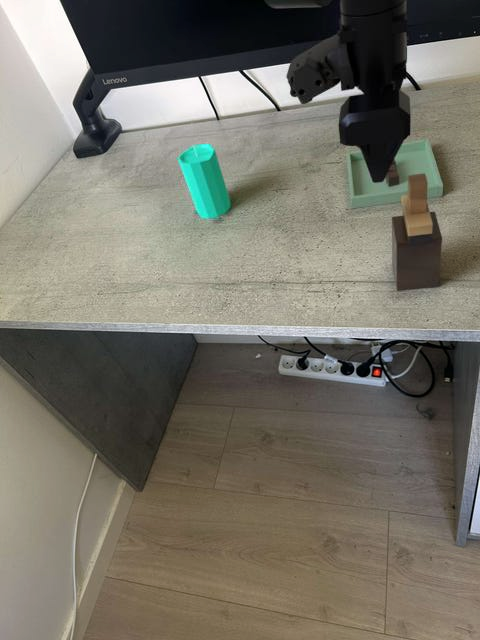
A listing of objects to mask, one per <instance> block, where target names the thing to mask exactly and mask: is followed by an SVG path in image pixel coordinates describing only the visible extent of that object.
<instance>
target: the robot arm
mask: <svg viewBox="0 0 480 640" xmlns="http://www.w3.org/2000/svg"><path fill="white" fill-rule="evenodd" d="M332 1H333V0H264V2H265V3H266V4H267V6H269V7H270V8H273V9H292V8H293V9H294V8H295V9H296V8H297V9H298V8H299V9H300V8H324V7H327V6H329V4H331V2H332ZM339 8H340V18H339V30H337V33H336V34H334V35H332V36H330V37H328V38H326V39H324V40H322V41H320V42H318V43H317V44H315V45H314V46H312V47H310V48H309V49H307V50H305V51H304V52H301V53H300V54H298V55H296V56H295V57H294V58H293V59H292V60H291V61H290V63H289V66H288V69H287V72H286V76H285V78H286V79H287V83H288V86H289V87H290V91H289V95H290V96H291V97H292V98H297V99H298V101H299V102H300V104H301V105H307V104H309V103H310V102H312V101H313V99H314V98H317V96H319V95H321V94H323V93H325V92H327V91H329V90H331V89H333V88H334V87H336V86H337V85H340V91H341V92H343V91H352V90H354V89H355V88H357V91H360V92H362V93H361V94H355V95H350V96H348V98H346V100H345V101H344V103H342V105H341V106H340V109H339V116H338V118H339V119H338V123H337V124H338V125H337V126H338V135H339V144H341V145H342V146H345V147H347V146H348V147H356V148H358V149H359V150H361V152H362V154H363V157H364V160H365V162H366V165H367V168H368V171H369V173H370V176H371V179H372V182H373V183H379V182H383V181H384V179H385V177H386V175H387V173H388V171H389V169H390V167H391V165H392V163H393V161H394V158H395V157H396V155H397V153H398V151H399V149H400V147H401V145H402V143H404V142H405V140H406V139H407V138H408V137H409V136H411V120H412V119H411V97H410V96H409V95H408V94H406V93H405V92H404V91H403V90H402V87H403V86H402V85H403V83H404V80H407V64H408V39H407V38H408V37H407V31H408V28H407V27H408V23H407V22H408V21H407V20H408V19H407V18H408V17H407V0H339Z"/></svg>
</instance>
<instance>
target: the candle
mask: <svg viewBox="0 0 480 640" xmlns="http://www.w3.org/2000/svg"><path fill="white" fill-rule="evenodd" d="M177 161H178V164H179V166H180V169H181V172H182V174H183V177H184V180H185V183H186V185H187V188H188V190H189V194H190V197H191V199H192V202H193V204H194V207H195V209H196V213H197V214H198V215H199V217H200V218H201V219H207V220H211V219H215V218H219V217H221V216H223V215H224V214H226V213H227V212H228V211H229V210H230V208H231V204H232V203H231V202H232V201H231V198H230V196H229V191H228V189H227V185H226V182H225V179H224V176H223V172H222V169H221V165H220V162H219V160H218V155H217V152H216V149H215V147H213V145H212V144H211V143H200V144H192V146H190V147H189V148H187V149H186V150H184V151H183V152H182V153H180V154H179V155H178V157H177Z"/></svg>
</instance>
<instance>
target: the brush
mask: <svg viewBox="0 0 480 640" xmlns="http://www.w3.org/2000/svg"><path fill="white" fill-rule="evenodd" d="M427 186H428V182H427V178H426V175H425V173H422V174H416V175H409V176H408V195H402V202H401V210H402V216H403V218H404V223H405V228H406V233H407V238H408V243H409V244H412V243H421V242H429V241H431V234H432V231H433V222H432V218H431V215H430V212H431V211H430V208H429V204H428V198H427Z"/></svg>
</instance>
